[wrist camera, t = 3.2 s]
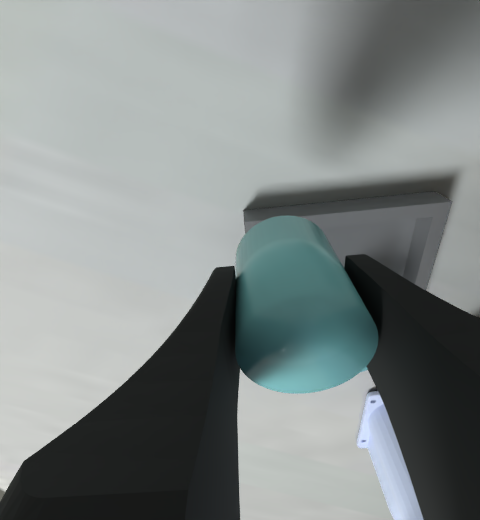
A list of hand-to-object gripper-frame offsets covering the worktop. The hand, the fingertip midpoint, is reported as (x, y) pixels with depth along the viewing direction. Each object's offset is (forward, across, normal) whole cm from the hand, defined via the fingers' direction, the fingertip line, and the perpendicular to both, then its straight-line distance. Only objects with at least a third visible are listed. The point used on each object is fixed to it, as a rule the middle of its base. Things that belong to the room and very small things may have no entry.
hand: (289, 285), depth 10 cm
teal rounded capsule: (+2, 0, 0) cm, 2 cm away
